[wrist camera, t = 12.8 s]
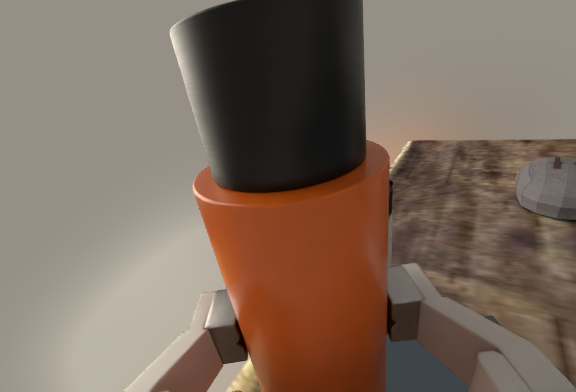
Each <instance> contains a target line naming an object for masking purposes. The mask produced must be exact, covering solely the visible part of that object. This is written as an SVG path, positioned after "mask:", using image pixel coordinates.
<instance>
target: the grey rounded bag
mask: <svg viewBox="0 0 576 392" xmlns="http://www.w3.org/2000/svg"><path fill="white" fill-rule="evenodd" d="M515 182H517V183H518V186H517V191H516V195H517V198H518V200H519V202H520V204H521V206H523V207H525V208H527V209H529V210H531V211H533V212H535V213H538V214H541V215H545V216H549V217H553V218H557V219H568V220H576V158H569V157H543V158H537V159H535V160H534V161H533V162H531V163H528V164H526V165H523V166H521V167H520V169H519V171H518V172H517V175H516V180H515Z"/></svg>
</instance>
